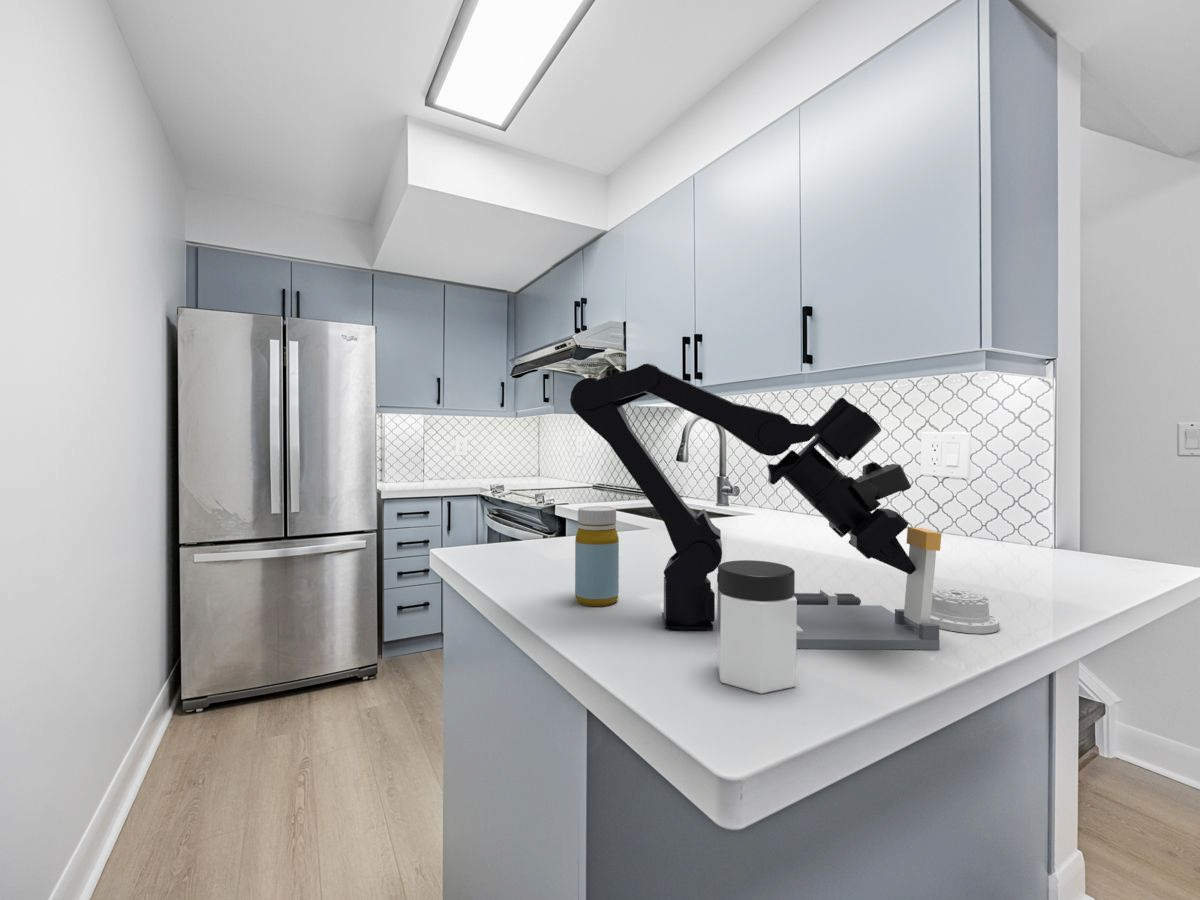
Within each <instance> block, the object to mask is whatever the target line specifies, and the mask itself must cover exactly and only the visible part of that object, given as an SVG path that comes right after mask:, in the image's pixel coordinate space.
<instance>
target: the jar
mask: <svg viewBox="0 0 1200 900" xmlns="http://www.w3.org/2000/svg"><path fill="white" fill-rule="evenodd" d="M795 576H796V572H795V570H794V568H792V567H790V566H789V565H785V564H782V563H778V562H772V561H764V560H750V559H749V560H748V559H746V560H745V559H743V560H731V561H730V560H729V561H725V562H722V563H720V564H719V566H718V567H717V574H716V582H717V599H716V600H717V610H716V611H717V617H716V618H717V624H716V625H717V626H716V627H717V628H716V630H717V633H716V634H717V635H716V636H717V637H716V640H717V641H716V649H717V650H716V666H717V671H718V676H719V681H720V682H721V683H722V684H725V685H729V686H732V687H736V688H740V689H742V690H743V689H744V690H746V691H750V692H753V693H757V694H766V693H770V692H776V691H780V690H786V689H791V688H795V687H796V686H797V649H796V634H797V599H796V598H795V596H794V593H795V590H796V589H795V584H796V583H795V578H796V577H795Z"/></svg>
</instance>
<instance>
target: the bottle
mask: <svg viewBox="0 0 1200 900" xmlns="http://www.w3.org/2000/svg"><path fill="white" fill-rule="evenodd" d="M577 522H578V523H577V527H578V528H577V529H578V530H577V532H576V534H575V542H574V543H575V544H574V547H575V548H574V550H575V551H574V553H575V554H574V555H575V557H574V568H575V571H574V573H575V574H574V580H575V583H574V589H575V590H574V593H575V595H574V596H575V600H576V601H577V602H578V603H579V604H580V603H581V605H583V606H586V607H607V606H611V605H613V603H614V604H615V603H616V602H617V600H618V599H619V590H620V589H619V583H620V581H619V577H620V576H619V575H620V574H619V573H620V569H619V567H620V566H619V565H620V564H619V559H620V557H619V554H620V552H619V550H620V548H619V547H620V545H619V543H620V541H619V540H620V539H619V534H618V531H617V529H616V528H617V523H616V522H617V508H616V507H611V506H582V507H578V509H577Z"/></svg>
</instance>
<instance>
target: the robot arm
mask: <svg viewBox="0 0 1200 900" xmlns="http://www.w3.org/2000/svg"><path fill="white" fill-rule="evenodd" d="M648 395H652V396H654V397H657V398H659V399H661V400H663V401H665V402H668V403H670V404H672V405H674V406H676V407H678V408H681V409H683V410H685V411H687V412H689V413H691V414H693V415H695V416H697V417H700V418H701V419H704V420H706V421H708V422H711V423H712V424H714V425H716V426H718V427H720V428H722V429H724V430H725V431H727V432H728V433H729V434H730V435H732V436H733V437H735V438H736V439H737V440H739V441H741V442H742V443H744V444H745V445H746V446H747V447H749V448H750V449H752V450H754V451H755V452H756V453H758V454H761V455H763V456H764V455H765V456H767V457H774V456H775V457H776V456H778V455H782V454H784V453H785V452H787V451H788V450H789V449H790V447H791V446H792V445H795V444H801V443H806V442H809V441H810V442H809V443H808V444H806V445H805V447H803V448H802V449H801V450H799V452H796V451H794V450H793V449H791V450H789V452H787V454H785V456H784V457H782V459H780V460H779V461H778V462H777V463H775V464H773V463H772V464H771V463H768V464H767V465H766V466H767V467H766V468H767V471H768V479H767V481H768V483H769V484H771V485H776V484H777V483H778V482H779V481H780V480H781V479H783V478H784V479H785V480H786V481H787V482H788V483H789V485H791V486H792V487H793V488H794V489H795V490H796V491H797V492H798V493H799V494H800V495H801V496H802V497H803V498H804V499H806V501H807V502H808V503H809V504H810V506H812V507H813V508H814V509H815V510H817V511H818V512H819V514H821V515H822V516H823V517H824V518H825V520H827V521H828V527H829V528H831V530H833V532H834V533H836V534H837V535H838V536H839V537H841V538H843V537H845V536H846V535H847V534H849V536H850V539H849V540H848V541H847V542H848V544H849V545H850V546H852V547H853V548H855V549H856V551H858V552H859V553H860V554H861V555H863V556H864V557H865V558H866V559H868V560H869V559H874V560H876V561H878V562H881V563H883V564H886V565H888V566H889V567H890V566H891V567H892V568H895V569H897V570H900V571H901V572H904V573H906V574H907V573H908V574H912V573H913V572H914V571H915V570H916V567H915V566H914V564H913V563H912V561H911V560H910V558H909V554H907V553H906V551H905V549H904V548H903V546H902V544H901V542H900V541H899V539H898V538H897V537H898V535H900V534H901V533H902V532H903V531H904V530H905V529H906V528H908V527H909V524H910V523H909V522H908V521H907V520H906V519H905V518H904V517H903V516H902V515H900V513H898V512H897V511H895V510H893V509H890V508H878V507H879V506H881V505H882V503H880V502H879V500H882V499H885V498H886V497H889V496H891V495H892V496H893V494H896V493H899V492H902V493H903V492H905V491H908V490H911V488H912V484H911V483H910V481H909V480H908V479H909V478H908V477H907V475H906V474H905V471H904V469H903V467H902V465H901V464H897V463H891V464H885V465H884V466H881V465H880V464H878V463H877V462H873V461H872V462H869V463H867V464H864V465H862V474H861V475H860V476H859V475H858V477H857V478H855V479H854V477H852V476H847V475H845V474H843V472H841V471H840V470H839V469H838V468H837V467H835V466H834V464H832V463H831V461H830V460H828V459H827V458H826V457H825V456H824V455H823V454H822V453H821V452H820V451H819V449H817V448H816V446H818V447H819V448H820V449H821V450H822V451H823V452H824V453H825V454H827V456H828V457H830V458H831V459H832V460H833V461H834V462H838V461H839V460H840V459H841V458H842V459H844V460H846V461H848V462H850V460H852V459H853V458H854V457H855V456H856V455H857V454H858V453H859V452H860V451H862V450H863V449H864V448H865V446H867V445H868V444H869V443H870V442H871V441H872V440H874V438H875V437H877V435H879V434H880V433H881V432H882V428H881V426H880V425H879V424H878V422H877V421H876V420H875V419H874V418H873V417H872V416H871V415H870V414H869V413H868V412H866V411H862V410H861V409H860V408H858V407H857V406H856V405H854V404H853V403H851V402H849V401H848V400H847V399H845V398H844V397H839V398H837V400H835V401H834V402H833V403H832V404H831V406H830V407H829V409H828V410H827V411H826V412H825V413H824V414H822V416H821V417H819V419H818V420H816V421H815V422H814V423H813V424H812V425H810V424H809V423H807V422H806V423H803V424H801V423H792V422H791V421H790V420H789V418H787V417H786V416H784V415H782V414H780V413H777V412H773V411H770V410H765V409H762V408H758V407H753V406H748V405H744V404H740V403H736V402H732V401H730V400H728V399H726V398H723V397H721V396H719V395H716V394H715V393H712V392H711V391H708V390H706V389H704V388H702V387H699V386H698V385H695V384H694V383H693V384H692V383H690V382H688V381H686V380H685V379H682V378H679V377H677V376H675V375H673V374H671V373H669V372H666V371H664V370H662V369H660V368H659V367H658V366H657V365H656V364H653V363H643V364H640V365H639V366H638V367H635V368H632V369H630V370H626V371H623V372H619V373H615V374H611V375H608V376H606V377H602V378H600V379H599V378H594V377H587V378H584V379H581V380H579V381H578V382H577V383H576V384H575V385H574V386H573V388H572V390H571V393H570V399H569V402H570V406H571V408H572V409H573V411H574V412H575V414H576V415H578V416H579V418H581V420H583V422H584V423H586V425H588V426H589V427H590V428H591V429H592V430H594V431H595V433H597V434H598V435H599V436H600V437H602V438H603V439H604V440H605V441H606V442H607V443H608V444H609V446H610V447H611V449H612V450H613V452H614V454H616V457H618V459H619V460H620V462H621V464H623V466H624V467H625V469H626V470H627V471H628V473H629V474H630V475H631V477H632V478H633V480H634V481H635V482H636V484H637V485H638V487H639V489H640V490H641V491H642V492H643V494H644V496H645V497H646V498H647V500H648V502H650V504H651V505H652V507H653V508H654V510H655V511H656V512H657V514H658V515H659V517H660V518H661V520H662V521H663V523H664V526H665V528H666V530H667V533H668V536H669V538H670V540H671V543H672V544H671V545H673V548H674V549H675V553H673V555H671V557H669V558H668V561H667V563H666V565H665V568H664V570H663V575H664V577H663V612H661V617H662V621H663V624H664V627H665V629H666V630H675V631H676V630H683V631H684V630H687V631H691V630H692V631H695V630H696V631H697V630H698V631H699V630H700V631H701V630H702V631H707V630H708V631H712V630H714V624H713V623H714V622H715V618H716V615H715V614H716V613H715V612H716V608H715V603H716V601H715V597H716V596H715V595H716V594H715V592H714V590H713V589H712V587H711V585H712V582H711V580H710V579H709V578H708V575H709V574H710V573H713V572H714V571H715V570H717V569H718V566H719V565H720V564H721V562H722V558H723V543H722V540H721V534H722V532H721V529H720V528H718V527H717V526H716V525H715V524H713V522H712V521H711V519H710V516H709V514H708V512H707V511H706V509H705V508H702V509H701V510H700V511H699V513H696V511H694V510H693V509H691V507H689V506H688V505H687V504H686V503H685V501H684V500H683V499H682V496H680V495H679V493H678V491H677V490H676V489H675V488H674V486H673V485H672V483H671V482H670V480H669V479H668V478H667V476H666V475H665V473H664V472H663V471H662V469H661V468H660V466H659V465H658V464H657V462H656V461H655V459H654V458H653V457H652V454H650V452H649V451H648V450H647V448H646V446H644V444H643V443H642V442H641V440H640V438H639V437H638V436H637V434H636V432H635V431H634V430H633V428H632V426H631V425H630V422H629V419H628V417H627V415H626V412H625V409H624V407H623V406H625V405H628V404H630V403H632V402H635V401H637V400H639V399H641V398H644V397H645V396H648ZM811 439H812V440H811Z"/></svg>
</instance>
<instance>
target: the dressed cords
mask: <svg viewBox="0 0 1200 900" xmlns="http://www.w3.org/2000/svg"><path fill="white" fill-rule="evenodd" d="M794 596H795V598H796V599H797V605H862V604H861V603H862V601H861V598H859V597H858V596H856V595H855V594H854V593H834V592H832V591H831V590H830V589H827V588H825V589H823V588H822V589H821V588H820V589H819V593H815V592H813V593H809V592H808V593H807V592H806V593H805V592H804V593H802V592H796V593H795V592H794Z"/></svg>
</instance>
